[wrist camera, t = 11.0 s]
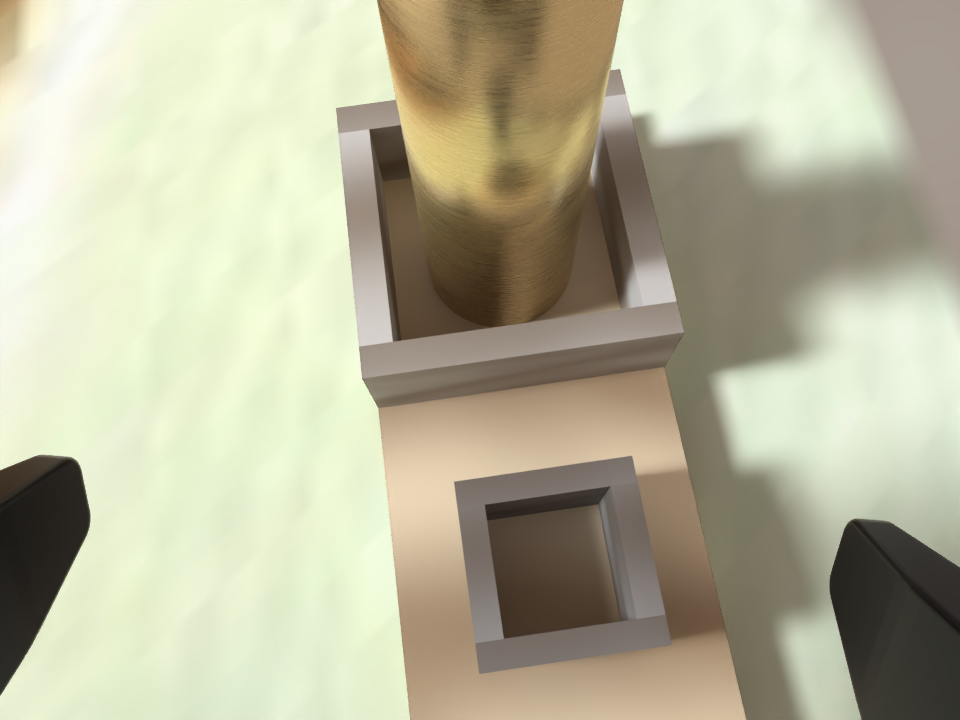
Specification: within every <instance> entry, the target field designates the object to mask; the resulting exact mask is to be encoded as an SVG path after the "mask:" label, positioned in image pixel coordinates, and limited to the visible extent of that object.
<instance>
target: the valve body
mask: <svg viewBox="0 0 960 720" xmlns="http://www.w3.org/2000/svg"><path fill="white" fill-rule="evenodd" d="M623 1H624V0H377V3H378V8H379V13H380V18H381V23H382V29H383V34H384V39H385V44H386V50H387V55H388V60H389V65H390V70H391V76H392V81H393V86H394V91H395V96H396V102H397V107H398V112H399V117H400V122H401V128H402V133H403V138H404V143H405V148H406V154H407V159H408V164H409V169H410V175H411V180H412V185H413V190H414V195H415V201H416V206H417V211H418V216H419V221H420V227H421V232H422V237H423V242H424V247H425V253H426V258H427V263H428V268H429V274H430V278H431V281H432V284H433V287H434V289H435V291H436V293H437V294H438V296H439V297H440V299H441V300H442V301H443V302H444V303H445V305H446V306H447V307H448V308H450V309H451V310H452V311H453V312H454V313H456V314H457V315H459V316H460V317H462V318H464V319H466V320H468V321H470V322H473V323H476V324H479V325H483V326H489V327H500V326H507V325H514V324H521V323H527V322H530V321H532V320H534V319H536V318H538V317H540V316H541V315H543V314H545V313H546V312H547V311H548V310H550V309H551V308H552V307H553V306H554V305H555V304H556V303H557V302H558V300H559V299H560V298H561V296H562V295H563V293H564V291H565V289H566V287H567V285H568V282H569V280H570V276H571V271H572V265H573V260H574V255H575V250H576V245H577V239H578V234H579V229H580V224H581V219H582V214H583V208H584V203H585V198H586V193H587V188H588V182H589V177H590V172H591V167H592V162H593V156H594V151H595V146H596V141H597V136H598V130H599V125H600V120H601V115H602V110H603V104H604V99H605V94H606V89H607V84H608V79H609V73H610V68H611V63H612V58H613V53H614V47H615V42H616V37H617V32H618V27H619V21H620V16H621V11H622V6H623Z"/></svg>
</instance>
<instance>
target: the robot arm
mask: <svg viewBox="0 0 960 720" xmlns="http://www.w3.org/2000/svg"><path fill="white" fill-rule="evenodd" d="M89 527H90V509H89V505H88V500H87V495H86V490H85V485H84V481H83V476H82V471H81V468H80V465H79V463H78V462H77V461H76V460H75V459H73V458H72V457H64V456H52V455H38V456H35V457H32V458H30V459H27V460H25V461H22V462H20V463H17V464H15V465H12V466H10V467H7V468H5V469H2V470H0V695H1V694H2V692H3V691H4V689H5V688H6V686H7V684H8V683H9V681H10V680H11V678H12V676H13V675H14V673H15V672H16V670H17V669H18V667H19V665H20V664H21V662H22V660H23V659H24V657H25V655H26V654H27V652H28V650H29V649H30V647H31V645H32V644H33V642H34V640H35V638H36V636H37V634H38V632H39V631H40V629H41V627H42V625H43V623H44V621H45V619H46V617H47V615H48V613H49V611H50V609H51V607H52V605H53V603H54V601H55V599H56V597H57V595H58V592H59V590H60V588H61V586H62V584H63V582H64V580H65V578H66V576H67V574H68V572H69V570H70V568H71V566H72V564H73V562H74V560H75V558H76V556H77V554H78V552H79V550H80V548H81V546H82V544H83V542H84V540H85V538H86V536H87V533H88V530H89ZM830 595H831V600H832V604H833V608H834V612H835V616H836V620H837V624H838V628H839V632H840V636H841V640H842V644H843V649H844V653H845V657H846V661H847V665H848V669H849V673H850V677H851V681H852V685H853V689H854V693H855V697H856V701H857V704H858V708H859V712H860V715H861V719H862V720H960V567H958V566H957V565H955V564H954V563H952V562H950V561H949V560H947V559H946V558H944V557H943V556H941V555H940V554H938V553H937V552H935V551H934V550H932V549H931V548H929V547H927V546H926V545H924V544H923V543H921V542H920V541H918V540H917V539H915V538H914V537H912V536H911V535H909V534H908V533H906V532H905V531H903V530H901V529H900V528H898V527H897V526H895V525H894V524H892V523H890V522H887V521H882V520H868V519H853V520H851V521H850V522H848V524H847V525H846V527H845V529H844V532H843V535H842V538H841V542H840V545H839V548H838V552H837V555H836V558H835V562H834V565H833V568H832V571H831V575H830Z"/></svg>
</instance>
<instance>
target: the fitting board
mask: <svg viewBox="0 0 960 720" xmlns="http://www.w3.org/2000/svg"><path fill="white" fill-rule="evenodd" d="M336 112H337V122H338V132H339V143H340V153H341V164H342V174H343V184H344V195H345V205H346V215H347V226H348V236H349V247H350V257H351V267H352V278H353V288H354V298H355V309H356V319H357V330H358V340H359V350H360V361H361V371H362V379H363V381H364V383H365V385H366V386H367V388H368V390H369V392H370V394H371V395H372V397H373V399H374V401H375V403H376V405H377V406H378V409H379V418H380V428H381V438H382V448H383V457H384V467H385V477H386V487H387V497H388V506H389V516H390V526H391V536H392V545H393V555H394V565H395V575H396V585H397V594H398V604H399V614H400V624H401V633H402V643H403V653H404V663H405V673H406V682H407V692H408V702H409V712H410V720H746V717H745V712H744V708H743V704H742V699H741V695H740V691H739V686H738V682H737V678H736V674H735V669H734V665H733V661H732V656H731V652H730V648H729V643H728V639H727V635H726V631H725V626H724V622H723V618H722V613H721V609H720V605H719V600H718V596H717V592H716V588H715V583H714V579H713V575H712V570H711V566H710V562H709V558H708V553H707V549H706V545H705V540H704V536H703V532H702V527H701V523H700V519H699V515H698V510H697V506H696V502H695V497H694V493H693V489H692V484H691V480H690V476H689V472H688V467H687V463H686V459H685V454H684V450H683V446H682V441H681V437H680V433H679V429H678V424H677V420H676V416H675V411H674V407H673V403H672V399H671V394H670V390H669V386H668V381H667V377H666V373H665V368H664V366H665V365H666V363H667V361H668V359H669V358H670V356H671V354H672V353H673V351H674V349H675V348H676V346H677V344H678V342H679V341H680V339H681V337H682V336H683V334H684V329H683V325H682V320H681V316H680V312H679V308H678V304H677V300H676V296H675V292H674V288H673V284H672V280H671V276H670V272H669V268H668V263H667V259H666V255H665V251H664V247H663V243H662V239H661V235H660V231H659V227H658V223H657V219H656V215H655V211H654V206H653V202H652V198H651V194H650V190H649V186H648V182H647V178H646V174H645V170H644V166H643V162H642V158H641V154H640V149H639V145H638V141H637V137H636V133H635V129H634V125H633V121H632V117H631V113H630V109H629V105H628V101H627V97H626V92H625V88H624V84H623V80H622V76H621V72H620V69H618V70H611V71H610V73H609V79H608V84H607V89H606V94H605V99H604V104H603V110H602V115H601V120H600V125H599V130H598V136H597V141H596V146H595V151H594V156H593V162H592V167H591V172H590V177H589V182H588V188H587V193H586V198H585V203H584V208H583V214H582V219H581V224H580V229H579V234H578V239H577V245H576V250H575V255H574V260H573V265H572V271H571V276H570V280H569V282H568V285H567V287H566V289H565V291H564V293H563V295H562V296H561V298H560V299H559V300H558V302H557V303H556V304H555V305H554V306H553V307H552V308H551V309H550V310H548V311H547V312H546V313H545V314H543V315H541V316H540V317H538V318H536V319H534V320H532V321H530V322H527V323H521V324H514V325H507V326H500V327H489V326H483V325H479V324H476V323H473V322H470V321H468V320H466V319H464V318H462V317H460V316H459V315H457V314H456V313H454V312H453V311H452V310H451V309H450V308H448V307H447V306H446V305H445V303H444V302H443V301H442V300H441V299H440V297H439V296H438V294H437V293H436V291H435V289H434V287H433V284H432V281H431V278H430V274H429V268H428V263H427V258H426V253H425V247H424V242H423V237H422V232H421V227H420V221H419V216H418V211H417V206H416V201H415V195H414V190H413V185H412V180H411V175H410V169H409V164H408V159H407V154H406V148H405V143H404V138H403V133H402V128H401V122H400V117H399V112H398V107H397V102H396V100H392V101H385V102H378V103H370V104H363V105H356V106H348V107H341V108H336Z"/></svg>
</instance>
